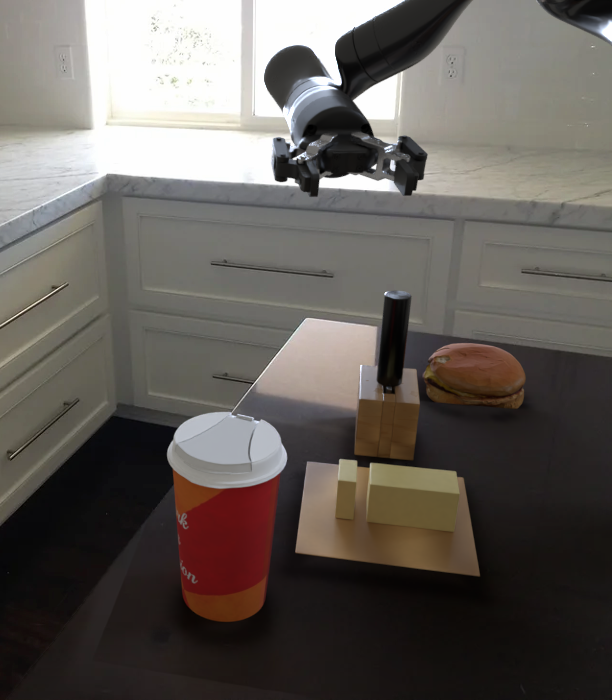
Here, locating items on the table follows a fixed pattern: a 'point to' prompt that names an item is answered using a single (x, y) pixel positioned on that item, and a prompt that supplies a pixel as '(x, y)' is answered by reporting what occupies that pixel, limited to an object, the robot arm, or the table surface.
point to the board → (378, 530)
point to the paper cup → (225, 511)
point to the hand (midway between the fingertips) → (362, 186)
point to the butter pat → (346, 489)
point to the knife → (393, 339)
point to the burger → (475, 376)
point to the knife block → (386, 416)
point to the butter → (412, 497)
